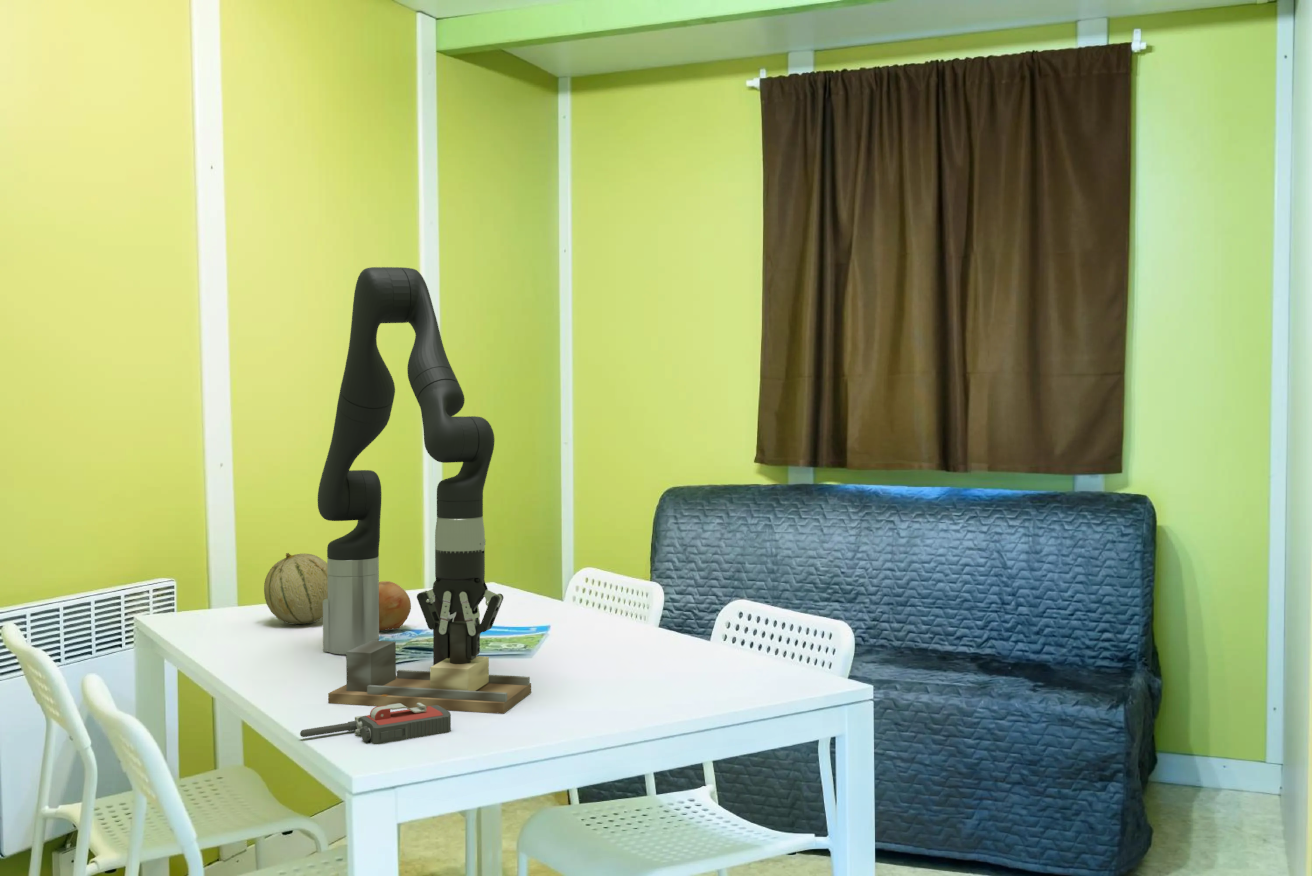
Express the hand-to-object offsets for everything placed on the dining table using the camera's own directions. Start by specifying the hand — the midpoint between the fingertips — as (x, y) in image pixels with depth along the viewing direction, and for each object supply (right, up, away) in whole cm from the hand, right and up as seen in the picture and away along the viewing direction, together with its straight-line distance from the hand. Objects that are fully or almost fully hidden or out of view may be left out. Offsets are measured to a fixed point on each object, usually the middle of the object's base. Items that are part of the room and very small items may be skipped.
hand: (460, 657), depth 181 cm
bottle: (-5, -6, +21) cm, 22 cm away
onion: (-24, -5, +56) cm, 61 cm away
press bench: (-5, -6, +1) cm, 8 cm away
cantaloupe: (-43, -5, +63) cm, 77 cm away
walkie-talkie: (-8, -8, -19) cm, 22 cm away
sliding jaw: (0, -5, 0) cm, 5 cm away
